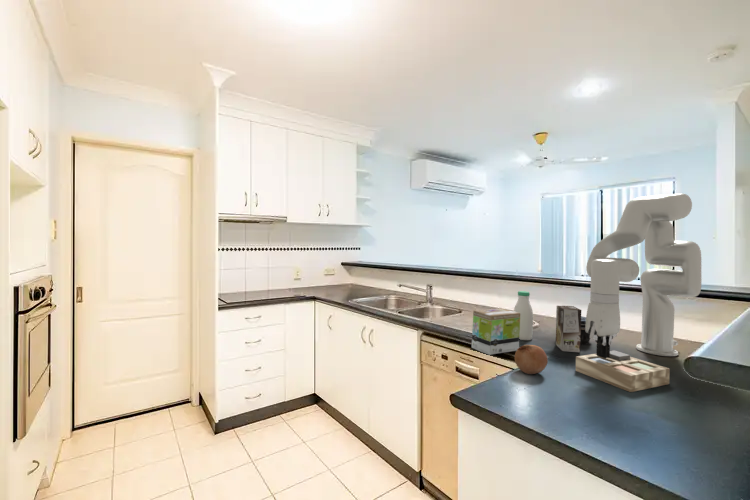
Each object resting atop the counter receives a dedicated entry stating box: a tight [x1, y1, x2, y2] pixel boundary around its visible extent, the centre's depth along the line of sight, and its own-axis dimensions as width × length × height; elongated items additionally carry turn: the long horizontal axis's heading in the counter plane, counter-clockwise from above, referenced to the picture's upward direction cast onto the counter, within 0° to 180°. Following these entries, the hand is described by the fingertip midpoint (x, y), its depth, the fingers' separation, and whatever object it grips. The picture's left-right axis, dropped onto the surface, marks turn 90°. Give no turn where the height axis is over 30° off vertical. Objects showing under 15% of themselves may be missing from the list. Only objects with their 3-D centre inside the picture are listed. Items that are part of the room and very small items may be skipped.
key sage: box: [631, 363, 653, 369], centre depth 106 cm, size 5×5×3 cm
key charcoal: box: [609, 349, 631, 361], centre depth 113 cm, size 5×5×3 cm
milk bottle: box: [513, 290, 534, 341], centre depth 151 cm, size 8×8×20 cm
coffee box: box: [555, 305, 582, 353], centre depth 137 cm, size 9×6×16 cm
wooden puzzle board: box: [575, 353, 671, 393], centre depth 108 cm, size 17×17×5 cm
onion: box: [514, 344, 549, 375], centre depth 111 cm, size 10×9×10 cm
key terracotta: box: [614, 366, 637, 372], centre depth 104 cm, size 5×5×3 cm
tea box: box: [471, 307, 520, 356], centre depth 134 cm, size 15×10×15 cm, turn 117°
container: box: [580, 315, 591, 346], centre depth 148 cm, size 13×13×10 cm
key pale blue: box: [591, 358, 611, 364], centre depth 111 cm, size 5×5×3 cm
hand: (602, 356), depth 111 cm, fingers closed
